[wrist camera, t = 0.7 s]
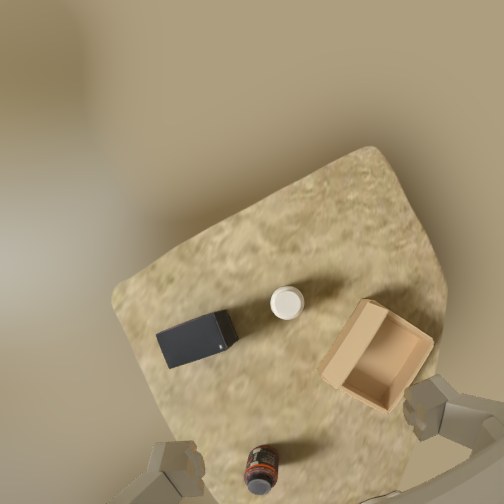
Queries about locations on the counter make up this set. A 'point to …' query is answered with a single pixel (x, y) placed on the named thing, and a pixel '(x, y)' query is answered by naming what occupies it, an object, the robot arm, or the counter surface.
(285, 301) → the supplement bottle
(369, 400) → the carton
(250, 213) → the counter surface
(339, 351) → the flap
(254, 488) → the supplement bottle
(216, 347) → the small box
